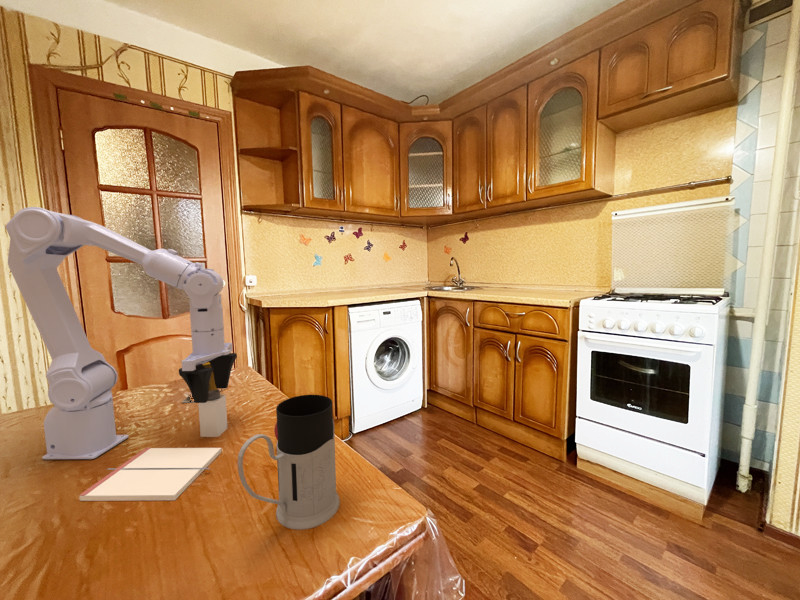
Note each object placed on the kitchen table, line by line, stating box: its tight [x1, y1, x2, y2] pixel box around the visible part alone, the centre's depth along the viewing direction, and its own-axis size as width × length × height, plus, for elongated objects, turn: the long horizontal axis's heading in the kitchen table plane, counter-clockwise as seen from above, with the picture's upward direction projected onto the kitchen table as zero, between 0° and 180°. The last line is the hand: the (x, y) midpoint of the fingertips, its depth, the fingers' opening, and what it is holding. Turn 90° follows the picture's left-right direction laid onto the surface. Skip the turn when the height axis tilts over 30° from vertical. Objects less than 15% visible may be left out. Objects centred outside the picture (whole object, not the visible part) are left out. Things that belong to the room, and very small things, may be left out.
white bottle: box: [197, 390, 228, 438], centre depth 70 cm, size 4×4×9 cm
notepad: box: [78, 447, 223, 502], centre depth 56 cm, size 17×13×1 cm
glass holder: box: [237, 394, 341, 531], centre depth 45 cm, size 9×14×15 cm, turn 146°
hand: (212, 394), depth 69 cm, fingers open, 7 cm apart
